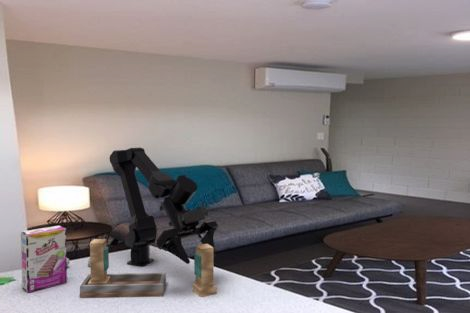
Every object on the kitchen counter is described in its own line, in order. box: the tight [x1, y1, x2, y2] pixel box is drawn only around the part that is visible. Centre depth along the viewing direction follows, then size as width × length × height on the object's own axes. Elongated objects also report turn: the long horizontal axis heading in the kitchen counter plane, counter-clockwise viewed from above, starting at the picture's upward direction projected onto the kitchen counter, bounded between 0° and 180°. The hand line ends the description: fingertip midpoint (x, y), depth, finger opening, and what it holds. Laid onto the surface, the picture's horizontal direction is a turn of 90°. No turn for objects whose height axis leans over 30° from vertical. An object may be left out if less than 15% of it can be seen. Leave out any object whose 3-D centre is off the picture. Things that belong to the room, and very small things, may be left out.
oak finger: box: [192, 243, 218, 298], centre depth 120 cm, size 5×5×13 cm
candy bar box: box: [20, 225, 68, 293], centre depth 123 cm, size 11×5×16 cm, turn 134°
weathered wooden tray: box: [79, 238, 167, 299], centre depth 121 cm, size 22×10×14 cm, turn 94°
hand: (201, 259), depth 120 cm, fingers open, 9 cm apart
